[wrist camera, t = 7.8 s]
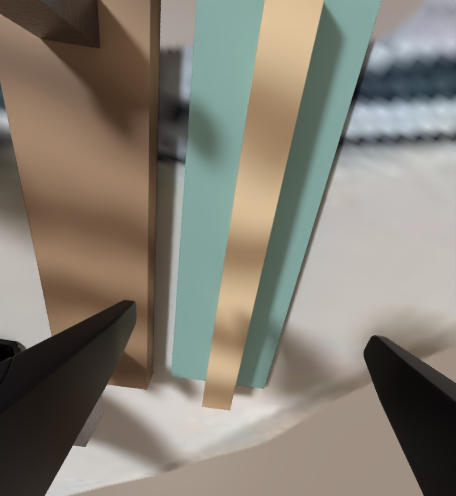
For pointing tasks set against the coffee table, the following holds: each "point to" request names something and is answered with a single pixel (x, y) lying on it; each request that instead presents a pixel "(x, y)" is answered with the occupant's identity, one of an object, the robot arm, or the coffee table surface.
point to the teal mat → (227, 162)
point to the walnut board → (91, 167)
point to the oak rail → (259, 180)
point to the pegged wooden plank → (72, 32)
